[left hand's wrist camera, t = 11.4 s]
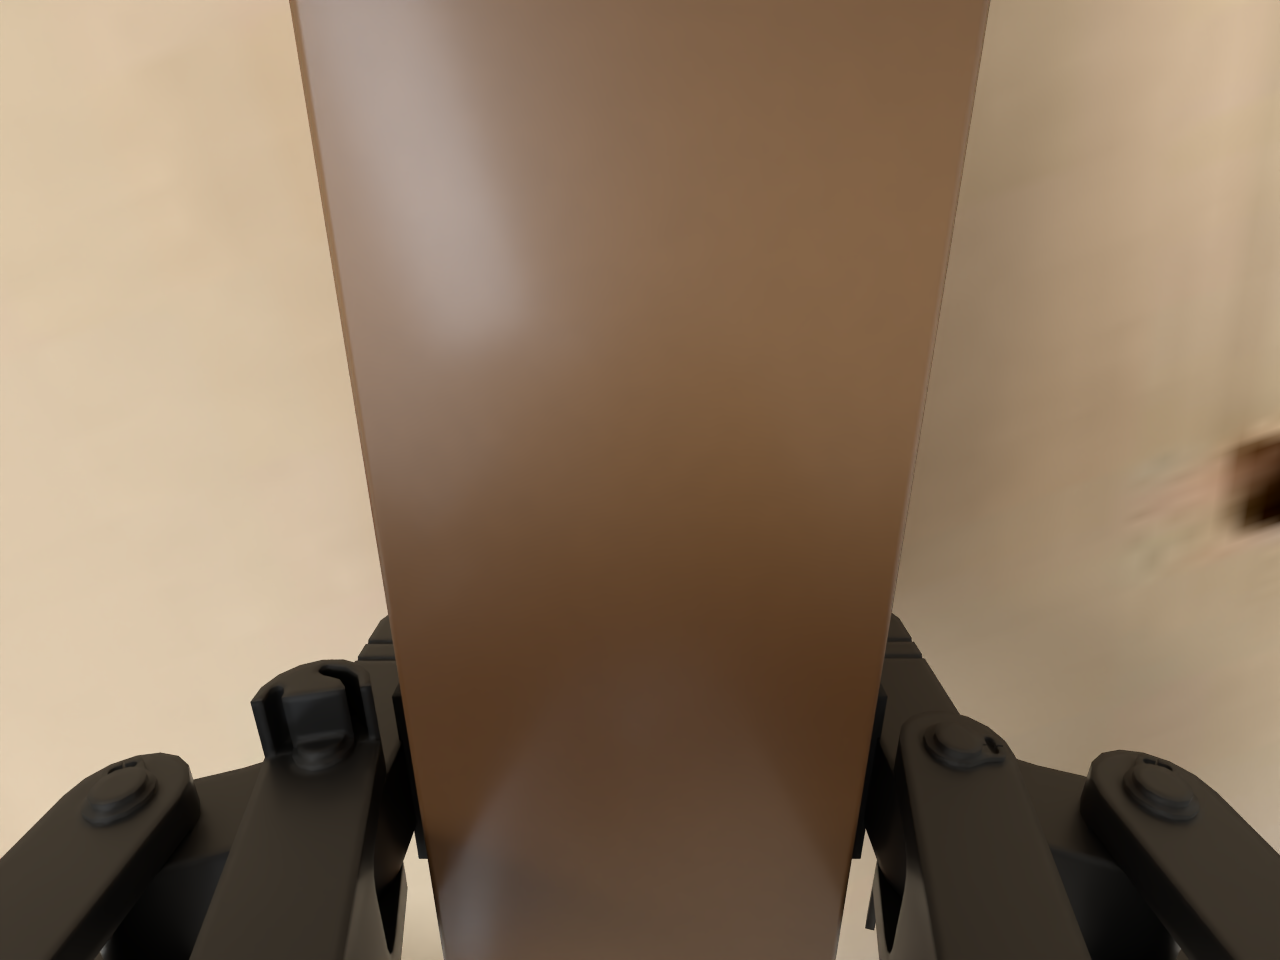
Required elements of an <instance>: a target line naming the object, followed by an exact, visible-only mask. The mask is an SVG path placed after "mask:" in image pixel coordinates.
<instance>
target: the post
mask: <svg viewBox="0 0 1280 960" xmlns="http://www.w3.org/2000/svg"><path fill="white" fill-rule="evenodd" d="M289 2H290V8H291V14H292V21H293V27H294V33H295V39H296V45H297V52H298V58H299V64H300V70H301V76H302V83H303V89H304V95H305V101H306V107H307V113H308V120H309V126H310V132H311V138H312V144H313V151H314V157H315V163H316V169H317V175H318V182H319V188H320V194H321V200H322V206H323V213H324V219H325V225H326V231H327V237H328V244H329V250H330V256H331V262H332V268H333V275H334V281H335V287H336V293H337V299H338V306H339V312H340V318H341V324H342V330H343V337H344V343H345V349H346V355H347V361H348V368H349V374H350V380H351V386H352V392H353V399H354V405H355V411H356V417H357V423H358V430H359V436H360V442H361V448H362V454H363V461H364V467H365V473H366V479H367V485H368V492H369V498H370V504H371V510H372V516H373V522H374V529H375V535H376V541H377V547H378V553H379V560H380V566H381V572H382V578H383V584H384V591H385V597H386V603H387V609H388V615H389V622H390V628H391V634H392V640H393V646H394V653H395V659H396V665H397V671H398V677H399V684H400V690H401V696H402V702H403V708H404V715H405V721H406V727H407V733H408V739H409V746H410V752H411V758H412V764H413V770H414V777H415V783H416V789H417V795H418V801H419V808H420V814H421V820H422V826H423V832H424V839H425V845H426V851H427V857H428V863H429V870H430V876H431V882H432V888H433V894H434V900H435V907H436V913H437V919H438V925H439V931H440V938H441V944H442V950H443V956H444V960H835V959H836V953H837V947H838V941H839V935H840V928H841V922H842V916H843V910H844V904H845V897H846V891H847V885H848V879H849V873H850V866H851V860H852V854H853V848H854V842H855V835H856V829H857V823H858V817H859V811H860V804H861V798H862V792H863V786H864V780H865V773H866V767H867V761H868V755H869V749H870V742H871V736H872V730H873V724H874V718H875V712H876V705H877V699H878V693H879V687H880V681H881V674H882V668H883V662H884V656H885V650H886V643H887V637H888V631H889V625H890V619H891V612H892V606H893V600H894V594H895V588H896V581H897V575H898V569H899V563H900V557H901V550H902V544H903V538H904V532H905V526H906V519H907V513H908V507H909V501H910V495H911V488H912V482H913V476H914V470H915V464H916V457H917V451H918V445H919V439H920V433H921V426H922V420H923V414H924V408H925V402H926V395H927V389H928V383H929V377H930V371H931V364H932V358H933V352H934V346H935V340H936V333H937V327H938V321H939V315H940V309H941V302H942V296H943V290H944V284H945V278H946V271H947V265H948V259H949V253H950V247H951V240H952V234H953V228H954V222H955V216H956V209H957V203H958V197H959V191H960V185H961V178H962V172H963V166H964V160H965V154H966V147H967V141H968V135H969V129H970V123H971V116H972V110H973V104H974V98H975V92H976V85H977V79H978V73H979V67H980V61H981V54H982V48H983V42H984V36H985V30H986V23H987V17H988V11H989V5H990V0H289Z"/></svg>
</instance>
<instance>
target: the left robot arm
mask: <svg viewBox="0 0 1280 960" xmlns="http://www.w3.org/2000/svg"><path fill="white" fill-rule="evenodd" d="M251 706H252V710H253V714H254V717H255V721H256V725H257V729H258V732H259V736H260V740H261V744H262V748H263V751H264V755H265V759H264V761H263V762H261V763H258V764H255V765H252V766H248V767H245V768H241V769H237V770H233V771H228V772H224V773H220V774H216V775H211V776H207V777H203V778H198V779H194V780H193V777H192V774H191V771H190V768H189V765H188V764H187V763H186V762H185V761H183V760H182V759H181V758H180V757H179V756H176V755H170V754H165V753H154V754H146V755H138V756H134V757H132V758H129V759H126V760H123V761H120V762H117V763H114V764H111V765H109V766H107V767H105V768H103V769H102V770H100V771H98V772H96V773H94V774H92V775H90V776H89V777H87V778H85V779H84V780H83V781H81V782H80V783H79V784H78V785H76V786H75V787H74V788H73V789H71V790H70V791H69V792H68V793H66V794H65V795H64V796H63V797H62V798H61V799H60V800H59V801H58V802H57V803H56V804H55V805H54V806H53V807H52V808H51V809H50V810H49V811H48V812H47V813H46V814H45V815H44V816H43V817H42V818H41V819H40V820H39V821H38V822H37V823H36V824H35V825H34V826H33V827H32V828H31V829H30V830H29V831H28V832H27V833H26V834H25V835H24V836H23V837H22V838H21V839H20V840H19V841H18V842H17V843H16V844H15V845H14V846H13V847H12V848H11V849H10V850H9V851H8V852H7V853H6V854H5V855H4V856H3V857H2V858H1V859H0V960H401V952H402V942H403V931H404V920H405V909H406V899H407V882H406V875H405V869H404V863H403V860H404V857H405V855H406V852H407V849H408V846H409V843H410V841H411V838H412V835H413V832H415V838H416V844H417V850H418V855H419V859H428V857H427V851H426V845H425V839H424V832H423V826H422V820H421V814H420V808H419V801H418V795H417V789H416V783H415V777H414V770H413V764H412V758H411V752H410V746H409V739H408V733H407V727H406V721H405V715H404V708H403V702H402V696H401V690H400V684H399V677H398V671H397V665H396V659H395V653H394V646H393V640H392V634H391V628H390V622H389V615H387V616H386V617H385V618H383V619H382V620H381V621H380V622H379V624H378V626H377V627H376V629H375V630H374V632H373V634H372V635H371V637H370V638H369V640H368V644H366V645H365V646H364V648H363V650H362V651H361V653H360V654H359V656H358V661H355V662H350V661H347V660H320V661H316V662H312V663H307V664H303V665H299V666H297V667H295V668H293V669H290V670H288V671H286V672H284V673H281V674H279V675H278V676H276V677H275V678H274V679H272V680H271V681H270V682H268V683H267V684H265V685H264V686H263V687H261V689H260V690H259V691H258V693H257V694H256V695H255V697H254V698H253V699H252V701H251ZM865 829H866V830H867V833H868V836H869V839H870V841H871V844H872V847H873V850H874V852H875V855H876V858H877V863H876V869H875V874H874V880H873V885H872V891H871V896H870V902H869V907H868V913H867V920H866V927H865V928H866V929H871V930H874V928H875V923H876V929H877V940H878V951H879V960H1280V855H1279V854H1278V853H1277V852H1276V851H1275V850H1274V849H1273V848H1272V847H1271V846H1270V845H1269V844H1268V843H1267V842H1266V841H1265V840H1264V839H1263V838H1262V837H1261V836H1260V835H1259V834H1258V833H1257V832H1256V831H1255V830H1254V829H1253V828H1252V827H1251V826H1250V825H1249V824H1248V823H1247V822H1246V821H1245V820H1244V819H1243V818H1242V817H1241V816H1240V815H1239V814H1238V813H1237V812H1236V811H1235V810H1234V809H1233V808H1232V807H1231V806H1230V805H1229V804H1228V803H1227V802H1226V801H1225V800H1224V799H1223V798H1222V797H1221V796H1220V795H1219V794H1218V793H1217V792H1216V791H1214V790H1213V789H1212V788H1211V787H1209V786H1208V785H1207V784H1206V783H1204V782H1203V781H1202V780H1201V779H1199V778H1198V777H1197V776H1196V775H1194V774H1192V773H1190V772H1188V771H1186V770H1184V769H1183V768H1181V767H1179V766H1177V765H1175V764H1173V763H1171V762H1170V761H1167V760H1164V759H1161V758H1158V757H1155V756H1152V755H1149V754H1146V753H1142V752H1134V751H1125V750H1116V751H1110V752H1105V753H1101V754H1100V755H1099V756H1098V757H1097V758H1096V759H1095V760H1094V761H1093V762H1092V763H1091V766H1090V769H1089V772H1088V775H1087V777H1085V776H1081V775H1076V774H1072V773H1068V772H1063V771H1059V770H1055V769H1050V768H1046V767H1042V766H1038V765H1034V764H1031V763H1028V762H1024V761H1021V760H1018V759H1016V758H1015V756H1014V754H1013V752H1012V751H1011V749H1010V748H1009V746H1008V745H1007V743H1006V742H1005V740H1003V739H1002V738H1001V737H1000V736H999V735H997V734H996V733H995V732H994V731H993V730H991V729H990V728H989V727H987V726H985V725H983V724H981V723H979V722H977V721H975V720H973V719H971V718H969V717H966V716H963V715H960V714H959V712H958V711H957V709H956V708H955V706H954V704H953V703H952V701H951V700H950V698H949V697H948V695H947V693H946V692H945V690H944V689H943V687H942V685H941V684H940V682H939V681H938V679H937V678H936V676H935V674H934V673H933V671H932V670H931V668H930V666H929V665H928V663H927V662H926V660H925V659H924V658H922V654H921V652H920V651H919V649H918V647H917V646H916V644H915V643H914V642H912V640H911V636H910V635H909V633H908V632H907V630H906V628H905V627H904V625H903V624H902V622H901V621H900V619H899V618H898V617H897V616H895V615H894V614H893V613H891V619H890V625H889V631H888V637H887V643H886V650H885V656H884V662H883V668H882V674H881V681H880V687H879V693H878V699H877V705H876V712H875V718H874V724H873V730H872V736H871V742H870V749H869V755H868V761H867V767H866V773H865V780H864V786H863V792H862V798H861V804H860V811H859V817H858V823H857V829H856V835H855V842H854V848H853V854H852V859H861V853H862V847H863V841H864V835H865Z"/></svg>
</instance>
